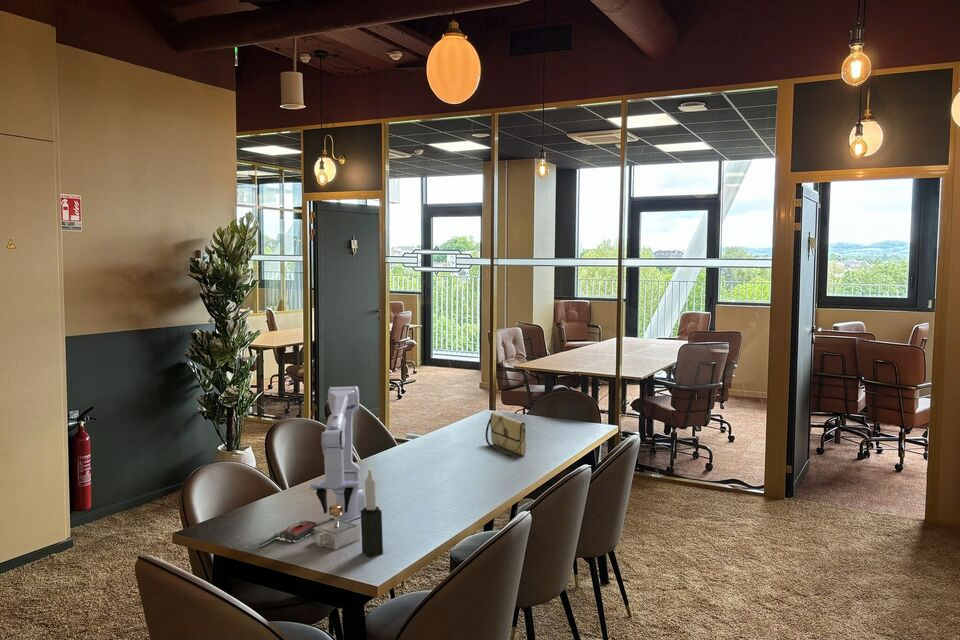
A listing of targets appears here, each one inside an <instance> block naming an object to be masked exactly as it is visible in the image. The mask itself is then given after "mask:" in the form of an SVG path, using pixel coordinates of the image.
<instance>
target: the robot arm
mask: <svg viewBox="0 0 960 640" xmlns="http://www.w3.org/2000/svg"><path fill="white" fill-rule="evenodd" d="M327 401H328V402H327V403H328V405H329V407H330V409H331V410H332V414H330V415H329V416H328V418H327V420H326V421H327V422H326V427H325V430H324V431H322V433H321V438H320V441H321V447H322V454H323V455H324V456H323V458H324V459H323V462H324V479H325V480H324V481H323V480H322V481H315V482H313V481H312V482H311V483H310V491H315V490H316V492H315V495H316V496H317V498H318V500H319V502H320V504H321V507H322V509H323V513H324V514H327V513H328V499H327V497H328V490H331V491H333V493H334V494H335V505H342V507H343V514H342V515H339V516H338V519H341V520H344V521H347V522H351V521H354V520H357V519H359V518H360V519H361V510H363V508H365V507H366V495H365V492H364V491H363V489H362V488H361V487H362V473H361V472H362V470H361V467H360V465H359V464H357V463H355V462H354V461H353V419H354V415H355V412H358V411H359V408H360V388H359V387H358V386H357V385H356V386H355V385H354V386H334V387H333V386H330V387H329V388H328V390H327ZM330 518H331V519H333V520H334V516H331V515H330Z"/></svg>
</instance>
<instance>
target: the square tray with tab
mask: <svg viewBox="0 0 960 640" xmlns="http://www.w3.org/2000/svg"><path fill="white" fill-rule="evenodd" d="M338 521H341V522H344V523H348V524H351V525H354V526H355V527H352V528H349V529H347V530H344V531H341V532H339V533H336V534H333V533H330V532H327V531H324V530H321V529H318V528H319V527H322V526H325V525H327V524H330V523H333V522H334V520H332V521H328V522H326V523H323V524H321V525H319V526H318V525H317V527H315V528H313V542H314V541H315V542H317V543H316V546H317V547H319V548H322V547H326V546H329V547H331V548H334V549H336V548H338V549H340V548H339V547H341V548H343V547H345V546H344V545H346V546H348V545H350V544H349V543H351V544H353V543H355V542H354V541H356V542H358V541H361V524H357V523H354V522H351V521H349V522H347V521H344V520H341V519H338ZM352 542H353V543H352ZM347 544H348V545H347ZM325 545H326V546H325ZM342 546H343V547H342ZM331 548H330V549H331ZM334 549H333V550H334ZM336 550H337V549H336Z"/></svg>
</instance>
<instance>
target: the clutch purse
mask: <svg viewBox="0 0 960 640" xmlns="http://www.w3.org/2000/svg"><path fill="white" fill-rule="evenodd" d="M489 428H490V430H491V433H490V435H491V436H490V437H491V443H492V444H493V445H495V444H496V446H498V447H500V446H501V447H500V448H503V449H506V450H507V449H508V451H510V452H511V453H507V454H508V455H507V456H511V455H513V454H514V453H515V454H517V453H518V455H520V456H522V455H524V456H525V455H526V451H527V450H526V449H527V448H526V441H527V440H526V439H527V437H526V424H525V422H522V421H519V420H517V419H513V418H511V417H508V416H505V415H501V414H498V413H495V412H492V413H491V414H490V417H489V420H488V422H487V423H486V429H485V441H486V443H487V445H488V446H489V447H490V448H491V449H493V448H494V449H496V448H495V447H494V446H493V445H492V444H491V443H490V441H489V437H488V434H489ZM494 449H493V450H494ZM512 451H513V452H512Z"/></svg>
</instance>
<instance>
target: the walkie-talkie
mask: <svg viewBox="0 0 960 640" xmlns="http://www.w3.org/2000/svg"><path fill="white" fill-rule="evenodd" d="M317 524H318V523H317V522H316V521H309V520H300V521H299V522H294V523H292V524H291V525H289V526H287V527H285V528H282V529H280V530H278V531H277V532H274V533H273V534H274V535H273V536H272V537H270V538H268V539H267V540H265V541H262V542H261V543H260V544H259V546H260V545H263V544H265V543H267V542H269V541H271V540H273V539H275V538H277V537H280V538H285V539H287V540H290V541H293V540H295V541H297V540H300V539H301V538H303V537H305V536H306V535H308V534H310V533H312V532H313V528H315V527H318V525H317ZM273 541H274V540H273Z"/></svg>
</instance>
